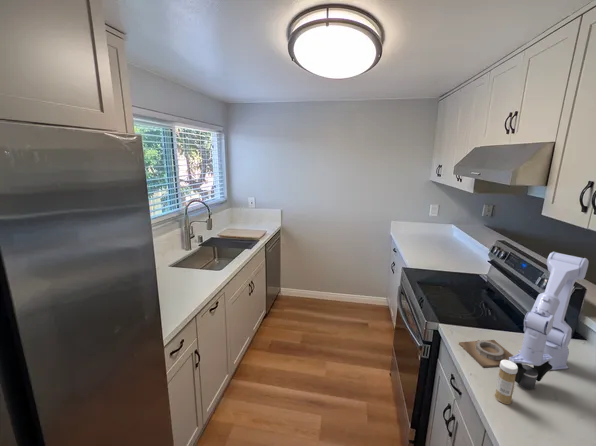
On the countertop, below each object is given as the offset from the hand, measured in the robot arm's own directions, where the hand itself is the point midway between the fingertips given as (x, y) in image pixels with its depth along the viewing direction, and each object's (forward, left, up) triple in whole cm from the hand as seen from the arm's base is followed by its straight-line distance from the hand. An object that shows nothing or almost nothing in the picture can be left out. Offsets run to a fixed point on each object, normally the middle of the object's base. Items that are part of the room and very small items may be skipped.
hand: (526, 380), depth 98 cm
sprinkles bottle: (+13, +5, -2) cm, 14 cm away
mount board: (+1, -16, -2) cm, 16 cm away
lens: (0, 0, -2) cm, 2 cm away
